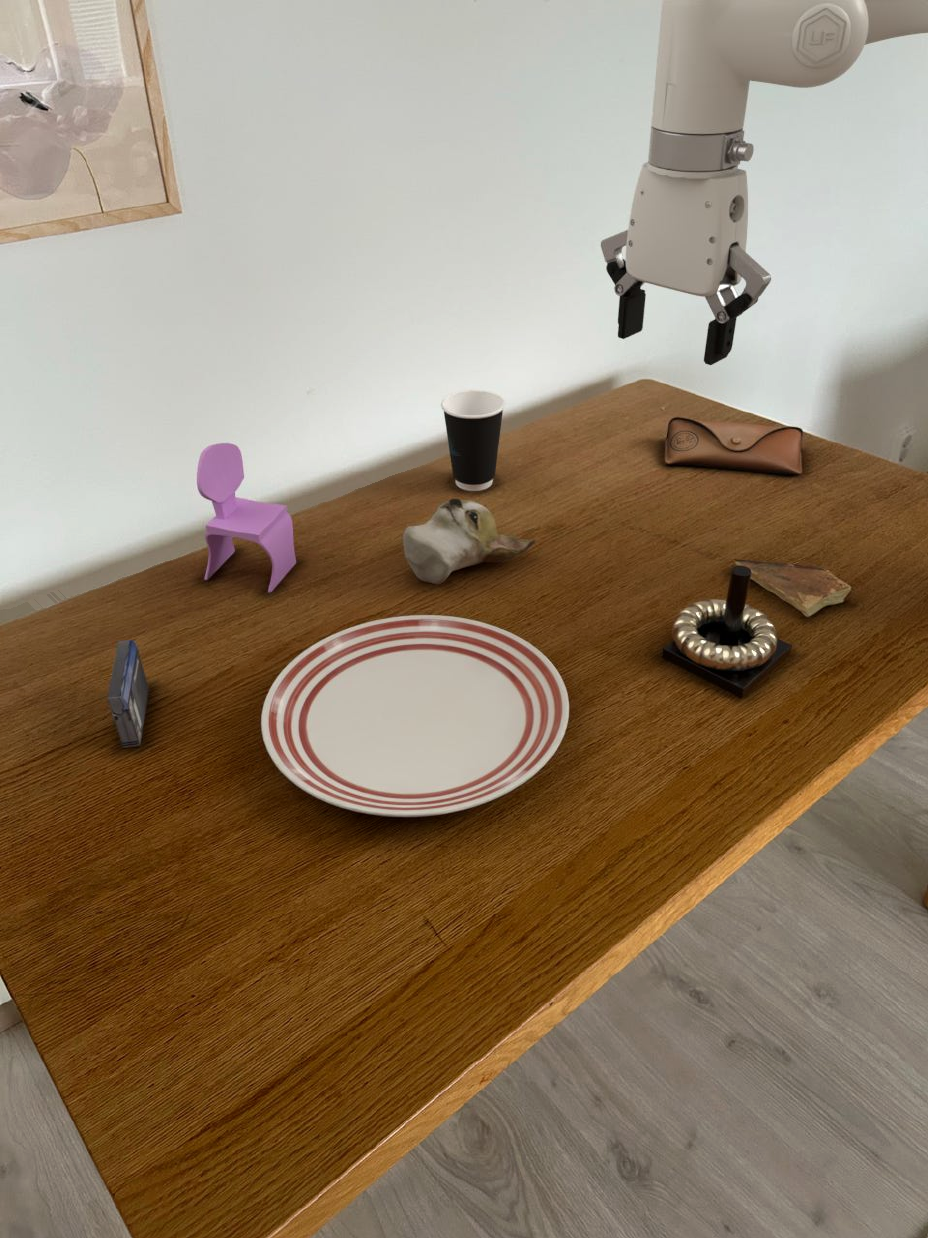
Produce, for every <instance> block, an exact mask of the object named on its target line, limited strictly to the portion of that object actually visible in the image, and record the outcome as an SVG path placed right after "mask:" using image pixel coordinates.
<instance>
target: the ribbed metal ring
mask: <svg viewBox="0 0 928 1238" xmlns="http://www.w3.org/2000/svg"><path fill="white" fill-rule="evenodd" d="M726 599H727V598H726ZM726 599H725V598H724V599H722V598H707V599H704V600H700V601H696V602H693V603H690V604H688V605H686V606H685V607H684V608H683V609H682V610H680V611H679V612H678V613H677V614H676V615H675V616H674V619H673V623H672V628H671V637H672V639H673V640H674V641H675V643H676V645H677V647H678V649H679V650H680V652H681V653H683V654H684V655H685V656H687V657H688V658H690V659H691V660H692V661H694V662H695V663H697V664H699V665H702V666H706V667H709V668H712V669H715V670H719V671H744V670H747V669H751V668H754V667H758V666H760V665H762V664H764V663H765V662H766V661H767V660H768V659H769V658H770V657H771V656H772V655H773V654H774V653H775V651H776V648H777V639H779V637H778V636H779V635H778V630H777V628H776V627H775V626H774V624H773V623H772V621H771V619H770V618H769V617H768V615H766V614H764V613H763V612H761V611H760V610H758V609H756V608H755V607H753V606H752V605H750V604H747V603H746V604H745V609H744V614H743V619H742V624H741V629H743V630H744V631H746V632H747V633H749V635H750V636H751V638H752V639H751V641H750V642H748V643H746V644H742V645H739V646H725V645H720V644H716V643H713V642H710V641H708V640H706V639H705V638H703V637H702V636H700V635H699V633H698V631H697V629H698V628H699V627H700V626H702V625H705V624H709V623H722V621H723V616H724V610H725V604H726Z"/></svg>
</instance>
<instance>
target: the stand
mask: <svg viewBox="0 0 928 1238" xmlns="http://www.w3.org/2000/svg"><path fill="white" fill-rule="evenodd" d="M750 578H751V569H750V568H748V567H746V566H742V565H737V566H736V565H734V566H732V568H731V571H730V576H729V581H728V587H727V593H726V604H725V610H724V616H723V621H722V623H709V624H705V625H702V626H700V627H699V628H698V629H697V631H698V633H699V635H700V636H702V637H703V638H705V639H706V640H708V641H710V642H713V643H716V644H720V645H725V646H739V645H742V644H746V643H748V642H750V641H751V639H752V638H751V636H750V635H749V633H747V632H746V631H744V630H743V629H741V624H742V619H743V614H744V609H745V604H747V599H748V592H749V589H750V582H751V579H750ZM792 646H793V645H792V644H790V643H788V642H786V641H783V640H782V639H779V638H777V648H776V651H775V653H774V654H773V655H772V656H771V657H770V658H769V659H768V660H767V661H766V662H765V663H764V664H762V665H760V666H758V667H754V668H751V669H747V670H744V671H719V670H715V669H712V668H709V667H706V666H702V665H699V664H697V663H695V662H694V661H692V660H691V659H690V658H688V657H687V656H685V655H684V654H683V653H681V652H680V650H679V649H678V647H677V645H676V643H675V641H674V639H673V640H672V641H670V642H669V643H668V644H666V645H665V646H664V647H663V648H662V653H661V658H662V659H664V660H666V661H668V662H670V663H671V664H674V665H676V666H678V667H680V668H682V669H683V670H685V671H687V672H690V673H691V674H693V675H695V676H697V677H699V678H701V679H704V680H705V681H707V682H709V683H710V684H713V685H714V686H717V687H719V688H720V689H722V690H724V691H726V692H728V693H730V694H732V695H734V696H736V697H738V698H740V699H743V698H744V697H745V696H746V695H747V694H748V693H749V692H750V691H751V690H752V689H754V688H755V687H756V686H757V685H758V684H759V683H760V682H762V680H764V679H765V678H766V677H767V676H768V675H769V674H770V673H771V672H772V671H773V670H775V669H776V668H777V667H778V666H779V665H780V664H782V663H783V661H784V660H786V659H787V658H788V657H789V656H790V655H791V651H792V648H793V647H792Z"/></svg>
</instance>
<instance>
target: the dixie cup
mask: <svg viewBox="0 0 928 1238" xmlns="http://www.w3.org/2000/svg"><path fill="white" fill-rule="evenodd" d="M506 404H507V403H506V400H505V399H504V397H502V395H500V394H498V393H496V392H493V391H489V390H484V389H464V390H458V391H455V392H452V393H449V394H448V395H446V396H445V397H443V398H442V400H441V402H440V407H441V409H442V411H443V415H444V421H445V422H444V423H445V431H446V436H447V437H446V438H447V444H448V451H449V457H450V463H451V471H452V476H453V478H454V480H455V485H456V487H458V488H459V489H461V490H463V491H469V492H478V491H483V490H487V489H489V488H490V487H491V486H492V485H493V482H494V481H493V480H494V478H495V476H496V470H497V463H498V460H497V459H498V453H499V445H500V436H501V429H502V422H503V421H502V420H503V413H504V409H505V408H506Z"/></svg>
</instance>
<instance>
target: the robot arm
mask: <svg viewBox="0 0 928 1238" xmlns="http://www.w3.org/2000/svg"><path fill="white" fill-rule="evenodd" d="M661 5H662V6H661V11H660V24H659V32H658V33H659V34H658V44H657V45H658V47H657V57H656V68H655V77H654V78H655V79H654V91H653V100H652V101H653V102H652V116H651V124H650V125H651V126H650V132H649V133H650V135H649V144H648V145H649V147H648V155H647V157H648V158H647V161H646V162H644V163H643V164H642V166H641V169H640V171H639V176H638V179H637V182H636V186H635V189H634V190H635V191H634V194H633V199H632V204H631V209H630V215H629V222H628V228H627V229H626V230H624V231H621V232H619V233H616V234H614V235H611V236H609V237H607V238H605V239H602V240H601V241H600V248H601V252H602V256H603V259H604V262H605V263H606V267H605V269H606V273H607V274H608V276H609V277H610V279H611V281H612V282H613V284H614V288H613V290H614V293H615V294H616V295H617V296H618V297H619V299H618V312H617V324H618V325H617V326H618V327H617V337H618V338H619V339H622V340H625V339H627V338H629V337H632V336H634V335H636V334H639V333H640V332H641V331H643V328H644V319H645V309H646V308H645V306H646V296H647V295H646V290H645V289H642V286H644V284H648V285H654V286H657V287H661V288H664V289H668V290H672V291H676V292H680V293H684V294H688V295H692V296H696V297H702V298H703V297H704V298H705V300H706V302H707V304H708V306H709V308H710V310H711V312H712V314H713V316H714V319H712V320H711V321H709V323H708V325H707V332H706V338H705V347H704V354H703V355H704V356H703V363H704V364H705V365H708V366H713V365H715V364H717V363H718V362H720V361H722V360H725V359H726V358H728V356H729V354H730V352H731V351H732V348H733V345H734V344H733V343H734V337H735V332H736V331H735V330H736V325H737V318H738V317H740V316H741V315H743V314H744V313H745V312H746V311H747V310H749V309H750V308H751V307H753V306H754V305H756V304H757V303H758V301H759V298H760V296H762V295H763V293H764V292H765V290H766V289H767V287H768V286H769V285H770V283H771V281H772V276H771V274H770V273H769V272H768V271H767V270H766V269H765V268H763V266H762V265H760V264H759V263H758V262H757V261H756V260H755V259H754V258H753V257H752V256H751V255H749V253H747V252H746V251H747V241H748V240H747V239H748V224H749V223H748V222H749V190H748V176H747V170H745V169H741V168H738V167H739V165H740V164H741V162H749V161H750V160H751V159H752V157H753V154H754V148H755V147H754V144H752V143H749V142H746V141H745V140H744V137H745V130H744V127H745V125H744V124H745V119H746V111H747V104H748V98H749V89H750V85H751V84H750V82H756V83H757V82H758V83H765V84H771V85H779V86H784V87H792V88H798V89H799V88H800V89H801V88H802V89H809V88H816V87H821V86H823V85H827V84H830V83H831V82H833V81H835V80H836V79H838V78H841V76H842V75H844V74H845V73H846V72H847V71H848V70H849V69H850V68H851V67H852V66H853V65H854V64H855V63H856V61H857V60H858V58H859V57H860V55H861V53H862V52H863V50H864V47H865V46H867V45H870V44H873V43H876V42H881V41H885V40H890V39H894V38H900V37H905V36H911V35H920V34H927V33H928V0H662V4H661ZM624 247H625V259H624V258H623V248H624ZM742 278H743V280H744V282H745V286H744V287H743V291H741V293H740V294H738V292H737V290H736V288H735V286H736V285H738V284H740V283H741V281H742Z"/></svg>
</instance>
